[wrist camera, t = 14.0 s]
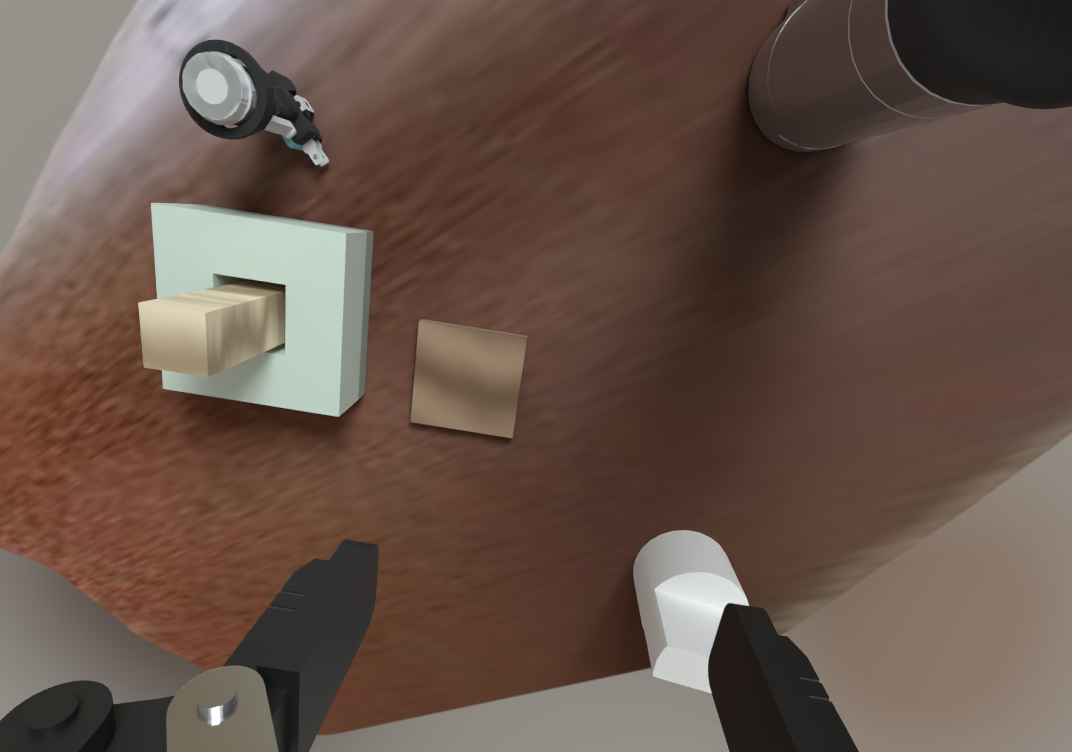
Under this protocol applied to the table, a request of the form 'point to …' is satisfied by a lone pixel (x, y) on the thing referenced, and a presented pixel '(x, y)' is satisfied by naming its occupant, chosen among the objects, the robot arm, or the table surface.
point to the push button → (244, 98)
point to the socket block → (311, 300)
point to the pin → (212, 327)
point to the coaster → (467, 378)
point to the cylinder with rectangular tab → (683, 603)
